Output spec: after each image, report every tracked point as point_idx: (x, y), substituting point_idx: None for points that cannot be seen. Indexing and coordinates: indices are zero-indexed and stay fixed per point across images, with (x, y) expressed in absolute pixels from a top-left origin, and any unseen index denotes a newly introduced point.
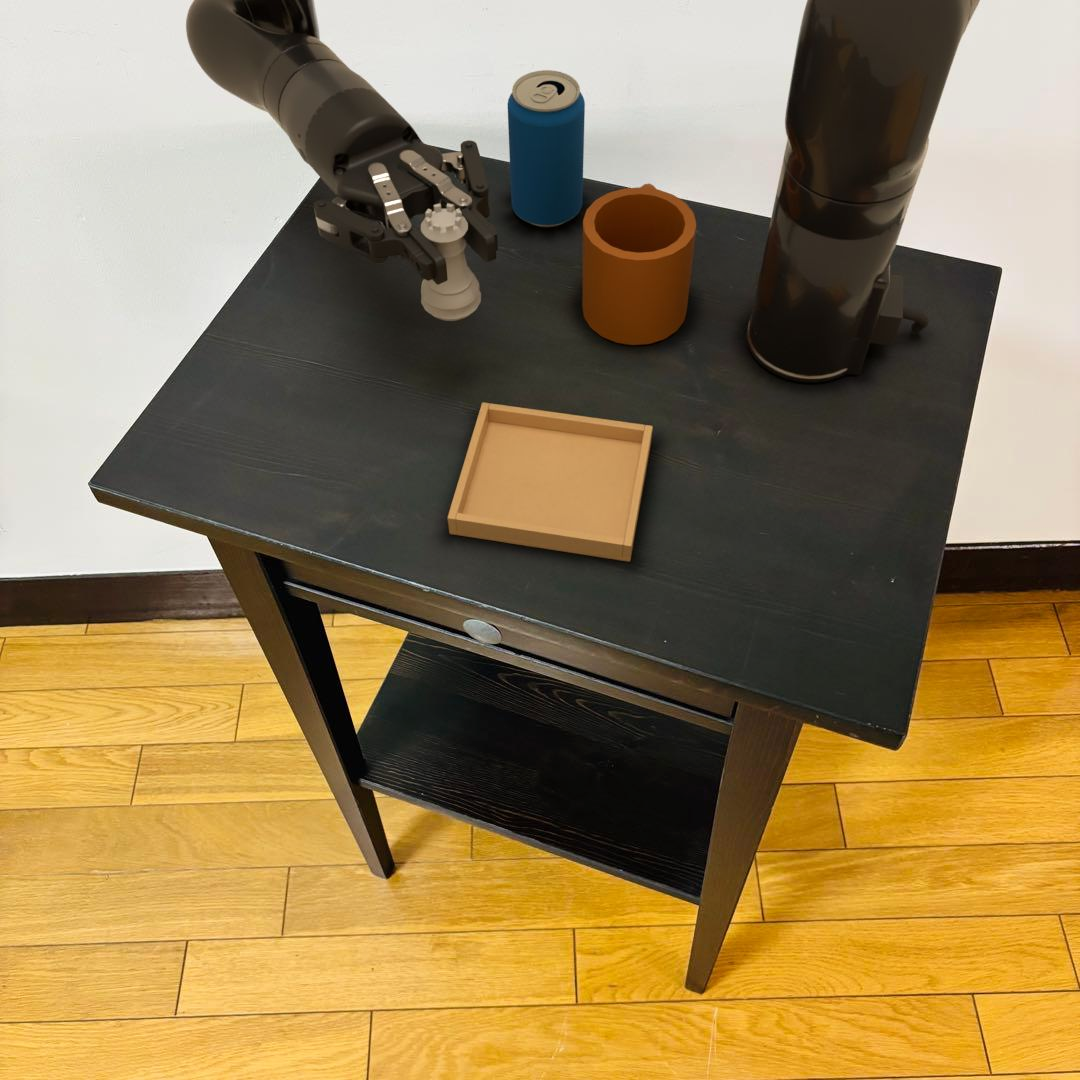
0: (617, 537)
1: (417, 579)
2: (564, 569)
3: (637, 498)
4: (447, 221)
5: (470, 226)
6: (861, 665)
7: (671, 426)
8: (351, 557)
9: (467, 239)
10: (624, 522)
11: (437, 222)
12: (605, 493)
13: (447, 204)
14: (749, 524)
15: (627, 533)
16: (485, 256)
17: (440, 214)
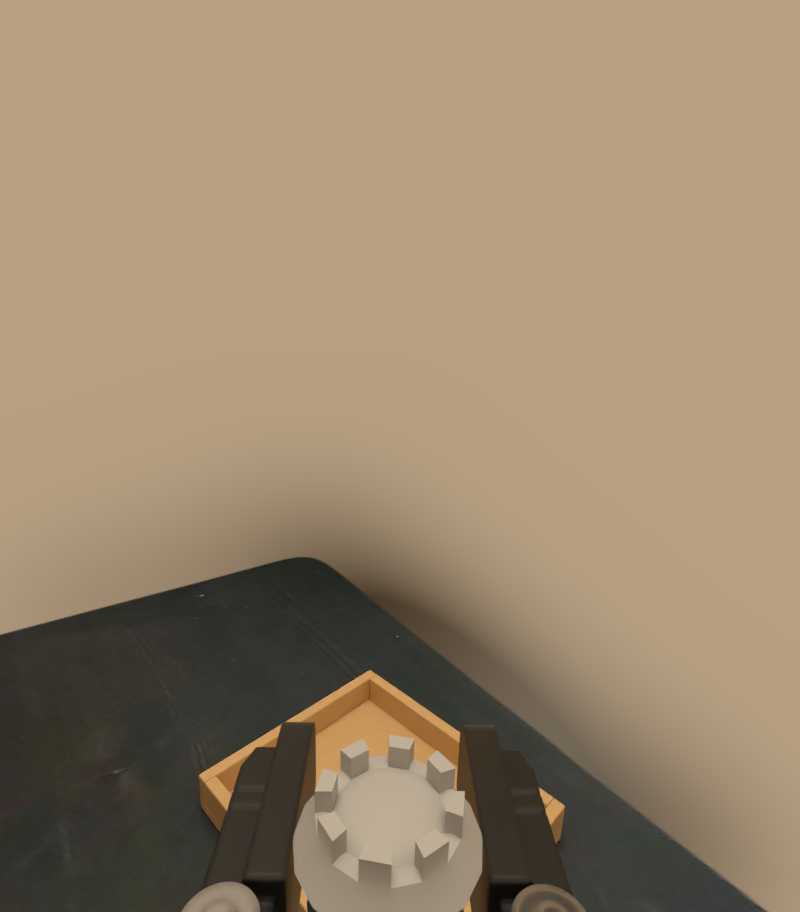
0: (375, 682)
1: (623, 802)
2: None
3: (317, 704)
4: (386, 784)
5: (300, 808)
6: (288, 575)
7: (148, 815)
8: (731, 890)
9: (297, 899)
10: (342, 721)
11: (420, 803)
12: (329, 761)
13: (336, 838)
14: (232, 671)
15: (363, 679)
16: (314, 781)
17: (387, 830)
